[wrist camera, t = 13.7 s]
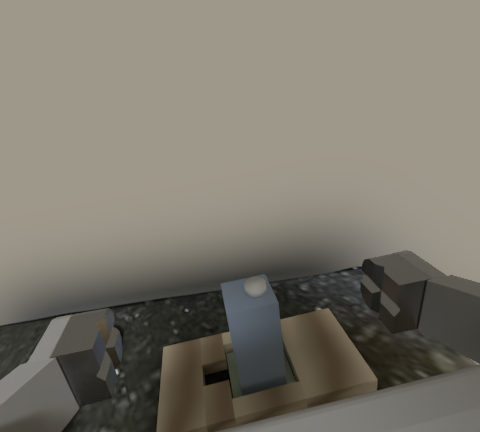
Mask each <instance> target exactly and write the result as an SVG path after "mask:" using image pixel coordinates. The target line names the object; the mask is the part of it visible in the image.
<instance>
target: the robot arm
mask: <svg viewBox="0 0 480 432" xmlns="http://www.w3.org/2000/svg"><path fill="white" fill-rule="evenodd" d="M362 271H363V272H364V274H365V276H364V278H363V279H362V281H361V293H362V297H363V299H364V301H365V303H366V304H367V306H368V307H369V308H370V309H371V310H374V311H376V312H378V313H379V320H380V321H381V322H382V323H383V324H384V325H385V326H386V327H387V329H388V330H389V331H390V332H391V333H392V334H394V333H399V332H404V331H409V330H414V329H418V331H420V332H422V333H424V334H426V335H428V336H430V337H431V338H433V339H435V340H437V341H439V342H441V343H442V344H444V345H446V346H448V347H450V348H452V349H453V350H455V351H457V352H459V353H461V354H463V355H465V356H466V357H468V358H470V359H472V360H474V361H476V362H477V363H479V364H480V283H478V282H474V281H471V280H467V279H464V278H460V277H456V276H453V275H450V276H446V275H445V274H444V273H442V272H440V271H439V270H437V269H436V268H435V267H433V266H432V265H430V264H429V263H427V262H426V261H424V260H423V259H421V258H420V257H419V256H417V255H416V254H414V253H413V252H411V251H402V252H397V253H393V254H390V255H385V256H380V257H375V258H370V259H365V260H364V262H363V264H362ZM114 321H115V317H114V315H113V312H112V310H110V309H109V308H108V309H102V310H96V311H90V312H84V313H78V314H74V315H67V316H62V317H57V318H55V319H53V320H52V321H51V323H50V324H49V326H48V328H47V330H46V331H45V333H44V335H43V336H42V338H41V340H40V342H39V343H38V345H37V347H36V349H35V350H34V352H33V354H32V355H31V357H30V359H29V361H28V362H27V363H25V364H21V365H19V366H18V367H17V368H16V369H14V370H13V371H12V372H11V373H9V374H8V375H7V376H5V377H4V378H3V379H2V380H0V432H62V430H63V429H64V428H65V427H66V425H67V424H68V423H69V421H70V420H71V419H72V418H73V416H74V415H75V414H76V412H77V411H78V410H79V406H83V405H87V404H91V403H95V402H99V401H103V400H107V399H110V398H112V397H113V393H114V388H115V384H116V380H117V374H116V371H115V368H116V367H117V366H118V365H119V364H120V362H121V358H122V339H121V335H120V332H119V330H118V329H116V328H115V327H113V324H114ZM216 432H480V365H476V366H472V367H468V368H464V369H460V370H456V371H452V372H448V373H444V374H440V375H436V376H433V377H429V378H425V379H421V380H417V381H413V382H409V383H405V384H401V385H397V386H393V387H389V388H385V389H381V390H377V391H374V392H370V393H366V394H362V395H358V396H354V397H350V398H346V399H342V400H338V401H334V402H330V403H326V404H322V405H318V406H314V407H311V408H307V409H303V410H299V411H295V412H291V413H287V414H283V415H279V416H275V417H271V418H267V419H263V420H259V421H255V422H251V423H248V424H244V425H240V426H236V427H232V428H228V429H224V430H220V431H216Z"/></svg>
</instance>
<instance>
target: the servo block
mask: <svg viewBox="0 0 480 432" xmlns="http://www.w3.org/2000/svg"><path fill="white" fill-rule="evenodd" d="M221 289H222V294H223V300H224V305H225V310H226V315H227V320H228V325H229V330H230V336H231V341H232V346H233V351H234V356H235V361H236V366H237V371H238V377H239V382H240V387H241V392H242V396H243V395H247V394H251V393H255V392H258V391H262V390H266V389H270V388H273V387H277V386H281V385H285V384H287V380H286V370H285V361H284V351H283V342H282V332H281V323H280V313H279V304H278V301H277V298H276V296H275V294H274V292H273V290H272V288H271V286H270V283H269V281H268V279H267V277H266V275H265V274H262V275H258V276H253V277H249V278H244V279H239V280H235V281H230V282H226V283H221Z"/></svg>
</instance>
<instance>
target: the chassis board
mask: <svg viewBox="0 0 480 432" xmlns="http://www.w3.org/2000/svg"><path fill="white" fill-rule="evenodd" d="M280 323H281V332H282V342H283V349H284V350H283V351H285V353H284V361H285V370H286V380H287V384H285V385H281V386H277V387H273V388H270V389H266V390H262V391H258V392H255V393H251V394H247V395H243V396H242V392H241V387H240V382H239V377H238V371H237V366H236V361H235V356H234V351H233V346H232V341H231V336H230V331H229V332H225V333H221V334H217V335H213V336H208V337H204V338H200V339H196V340H192V341H187V342H183V343H179V344H175V345H170V346H166V347H164V348H163V360H162V372H161V384H160V395H159V407H158V419H157V431H156V432H216V431H220V430H224V429H228V428H232V427H236V426H240V425H244V424H248V423H251V422H255V421H259V420H263V419H267V418H271V417H275V416H279V415H283V414H287V413H291V412H295V411H299V410H303V409H307V408H311V407H314V406H318V405H322V404H326V403H330V402H334V401H338V400H342V399H346V398H350V397H354V396H358V395H362V394H366V393H370V392H374V391H377V381H378V379H377V378H376V376H375V375H374V373H373V372H372V371H371V369H370V368H369V366H368V365H367V363H366V362H365V360H364V359H363V357H362V356H361V355H360V353H359V352H358V350H357V349H356V347H355V346H354V344H353V343H352V342H351V340H350V339H349V337H348V336H347V334H346V333H345V331H344V330H343V329H342V327H341V326H340V324H339V323H338V321H337V320H336V318H335V317H334V316H333V314H332V313H331V311H330V310H329V308H326V309H322V310H318V311H314V312H310V313H305V314H301V315H297V316H293V317H288V318H284V319H280ZM285 354H286V355H285ZM226 356H227V361H226ZM286 356H287V358H286ZM287 359H288V360H287ZM288 361H289V363H288ZM227 362H228V368H229V375H230V381H231V387H232V393H233V399H232V393H231V387H230V383H229V380H227V381H223V382H219V383H215V384H211V385H207V386H205V375H207V374H211V373H215V372H219V371H223V370H227V369H228V368H227ZM289 364H290V365H289ZM290 366H291V368H290ZM291 369H292V370H291ZM292 371H293V373H292ZM293 374H294V376H293ZM294 377H295V378H294ZM295 379H296V381H295Z"/></svg>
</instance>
